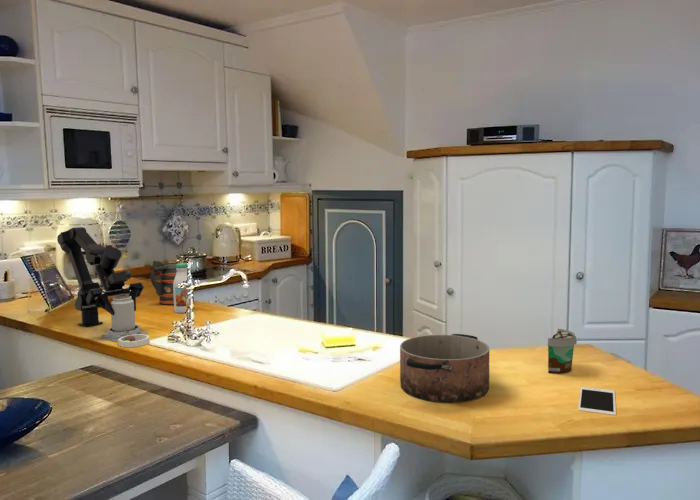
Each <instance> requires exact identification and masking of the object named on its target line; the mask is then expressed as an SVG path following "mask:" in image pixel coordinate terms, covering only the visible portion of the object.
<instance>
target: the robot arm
mask: <svg viewBox="0 0 700 500" xmlns="http://www.w3.org/2000/svg"><path fill="white" fill-rule="evenodd" d="M56 240H57V244H58V245H59V246H60V249H61V250H62V251H63V252H64V253H66V254H67V255H68V257H69V260H70V262H71V265H72V269H73V272H74V274H75V277H76V280H77V284H78V285H79V288H78V291H77V297H76V300H75V303H74V308H75V310H77V311H79V312H81V313H80V316H81V322H78V323H77V325H78V326H83V327H86V328H88V327H92V326H93V327H94V326H97V325H100V324H103V321H101V320H100V319H99V318H100V317H99V308H101V309H102V310H104V311H106V312H108V313H109V314H110V315H111V314H112V315H114V310H113V308H112V306H111V302H110V300H109V297H112V298H113V297H117V296H125V295H126V296H131V299H132V300H133V301H134V312H136V311H137V301H136V300H137V298H139V297H140V296H141V294H142V292H143V291H144V289H145V287H144V284H143V283H142V282H133V283H129V286H128V287H126V288H123V287H124V286H125V284H126V283H125V282H127V281H128V280H130V279H131V278H132V274H131V273H132V272H131V271H130V269H125V270H124V269H123V271H118V272H116V271H115V269H116V268H117V267H118V265H119V262H120V260H121V258H122V255H123V254H122V252H121V250H120V249H118V248H117V247H114V246H113V245H112V244H107V245H106V244H105V246H104V245H102V244H99V243H97V242H96V241H95V240H94V239H93V238H92V236H91V235H90V234H89V233H88V231H87V228H85V227H83V226H81V227H80V226H79V227H78V226H77V227H72V228H70V229H68V230H66V231H65V230H64V231H62V232H60V233H59V234H58V235H57V237H56ZM82 250H83V251H84V252H85V257H84V254H83V252H82ZM85 259H86V260H85ZM86 262H87V263H88V264H89V265H90V266H96V267H95V269H94V270H95V271H94V275H95V276H98V277H97V278H98V279H99V281H100V284H99V282H95V281H94V280H93V279H92V277H91V273H90V271H89V268H88V265H87V263H86Z"/></svg>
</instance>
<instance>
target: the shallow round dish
mask: <svg viewBox="0 0 700 500" xmlns="http://www.w3.org/2000/svg"><path fill="white" fill-rule="evenodd" d="M127 336H129V335H127ZM127 336H123V337H121V338H119V339H118V342H119V343H118V342H117V343H118V347H120V346H121V348H136V347H137V348H138V347H142V346H146V345H148V344H150V343H151V340H150V335H149V334H148V335H145V334H134V335H132V336H134V337H135V341H124V340H125V338H126V337H127ZM149 342H150V343H149Z"/></svg>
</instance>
